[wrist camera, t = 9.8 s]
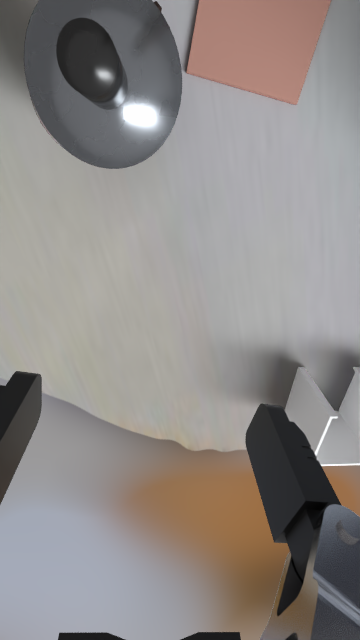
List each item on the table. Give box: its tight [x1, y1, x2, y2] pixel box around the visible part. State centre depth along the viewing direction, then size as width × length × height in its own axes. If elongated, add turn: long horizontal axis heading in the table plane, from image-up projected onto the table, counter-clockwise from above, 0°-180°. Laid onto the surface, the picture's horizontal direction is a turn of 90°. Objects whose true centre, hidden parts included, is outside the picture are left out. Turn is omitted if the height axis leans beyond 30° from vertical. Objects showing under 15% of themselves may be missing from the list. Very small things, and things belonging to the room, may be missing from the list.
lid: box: [24, 0, 182, 169], centre depth 19 cm, size 11×11×7 cm
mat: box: [186, 0, 331, 105], centre depth 27 cm, size 12×12×1 cm
